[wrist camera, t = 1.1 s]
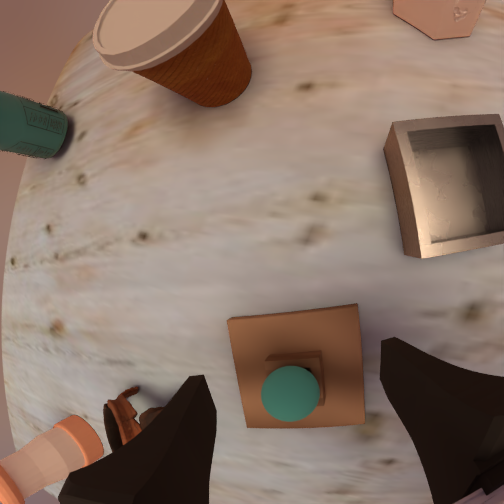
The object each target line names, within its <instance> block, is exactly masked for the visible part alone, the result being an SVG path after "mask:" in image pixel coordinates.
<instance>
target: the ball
mask: <svg viewBox="0 0 504 504" xmlns="http://www.w3.org/2000/svg"><path fill="white" fill-rule="evenodd" d="M319 397H320V389H319V385H318V382H317V380H316V379H315V377H314V376H313V375H312V374H311V373H310V372H309V371H307V370H306V369H304V368H301V367H298V366H285V367H281V368H278V369H276V370H275V371H273V372H272V373H271V374H270V375H269V376H268V377H267V378H266V379H265V381H264V383H263V386H262V389H261V400H262V403H263V406H264V408H265V409H266V411H267V412H268V413H269V414H270V415H271V416H273V417H274V418H276V419H278V420H281V421H286V422H293V421H298V420H301V419H303V418H305V417H307V416H308V415H309V414H311V413H312V412H313V410H314V409H315V408H316V406H317V404H318V401H319Z"/></svg>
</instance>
